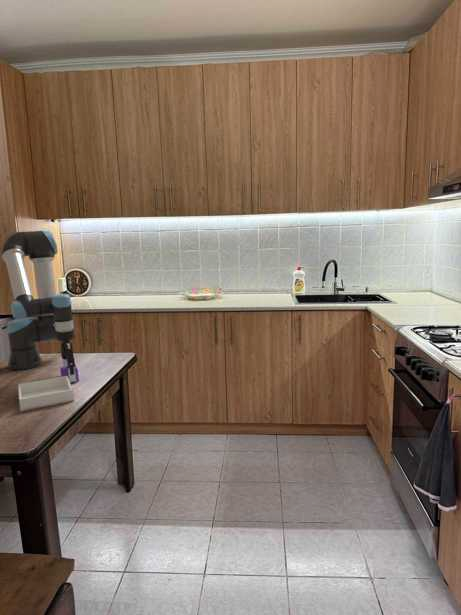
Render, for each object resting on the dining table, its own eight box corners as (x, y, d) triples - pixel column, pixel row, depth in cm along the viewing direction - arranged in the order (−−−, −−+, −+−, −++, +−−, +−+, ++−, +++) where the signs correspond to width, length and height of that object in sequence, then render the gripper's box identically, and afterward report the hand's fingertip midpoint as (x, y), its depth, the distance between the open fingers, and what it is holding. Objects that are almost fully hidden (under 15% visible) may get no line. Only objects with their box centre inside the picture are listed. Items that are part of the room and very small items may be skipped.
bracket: (79, 381, 191) (77, 366, 190) (62, 384, 189) (60, 368, 188) (77, 373, 202) (75, 359, 201) (61, 375, 200) (59, 361, 198)
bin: (19, 394, 178) (18, 384, 178) (68, 386, 186) (67, 375, 185) (20, 411, 162) (19, 399, 161) (74, 401, 170) (72, 389, 169)
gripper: (51, 326, 200) (56, 371, 204) (60, 337, 179) (65, 387, 183) (68, 323, 204) (73, 368, 208) (79, 334, 183) (84, 383, 187)
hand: (69, 377), depth 195 cm, fingers closed on bracket, 12 cm apart
